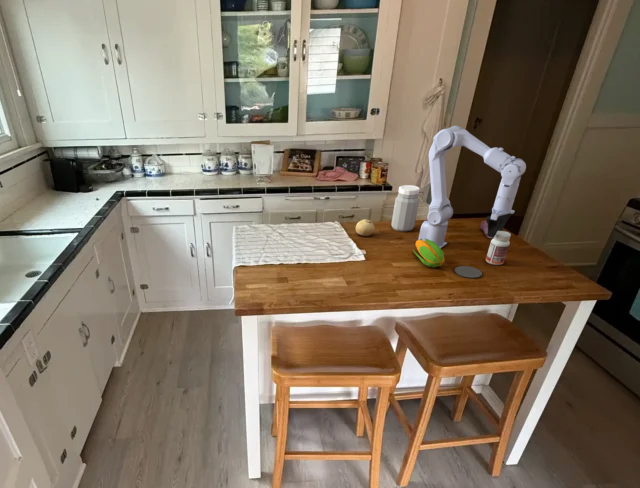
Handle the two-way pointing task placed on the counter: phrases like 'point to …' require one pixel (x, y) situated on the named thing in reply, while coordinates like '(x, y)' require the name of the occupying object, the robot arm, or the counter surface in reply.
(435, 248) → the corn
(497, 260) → the pill bottle
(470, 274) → the coaster
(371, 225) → the onion
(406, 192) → the jar
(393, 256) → the counter surface
